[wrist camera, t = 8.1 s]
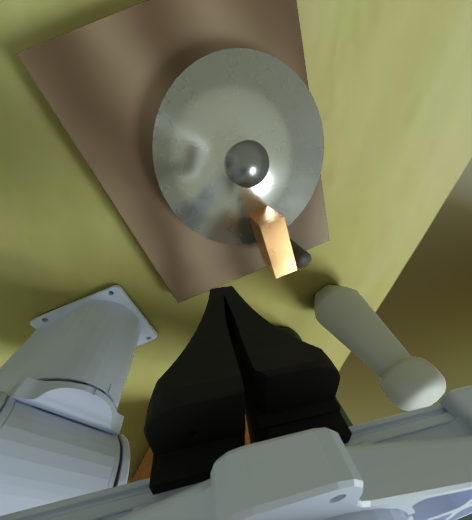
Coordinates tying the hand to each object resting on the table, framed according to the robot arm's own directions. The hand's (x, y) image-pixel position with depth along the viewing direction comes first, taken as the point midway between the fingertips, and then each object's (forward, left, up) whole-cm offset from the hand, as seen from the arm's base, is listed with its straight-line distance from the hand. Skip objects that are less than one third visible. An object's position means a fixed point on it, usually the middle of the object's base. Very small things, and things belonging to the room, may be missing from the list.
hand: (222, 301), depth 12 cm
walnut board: (+3, +6, -9) cm, 12 cm away
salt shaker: (+11, -13, -10) cm, 20 cm away
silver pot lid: (+5, +5, -8) cm, 11 cm away
